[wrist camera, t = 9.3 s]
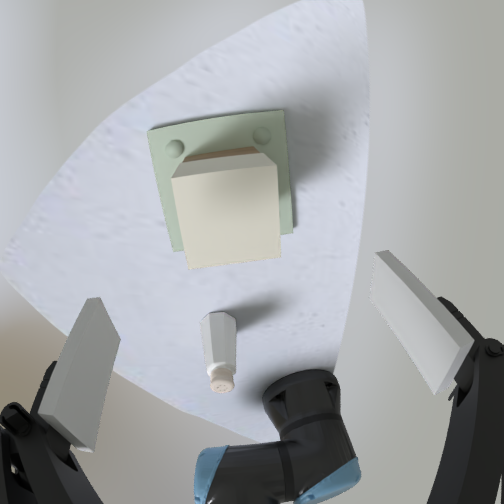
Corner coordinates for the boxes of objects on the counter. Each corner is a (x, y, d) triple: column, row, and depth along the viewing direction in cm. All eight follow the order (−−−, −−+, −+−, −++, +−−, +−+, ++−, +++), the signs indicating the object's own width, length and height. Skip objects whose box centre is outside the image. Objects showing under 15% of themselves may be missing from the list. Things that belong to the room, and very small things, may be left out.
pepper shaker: (243, 330, 41) (253, 391, 31) (211, 343, 42) (214, 404, 32) (226, 304, 38) (232, 368, 29) (191, 319, 39) (189, 382, 29)
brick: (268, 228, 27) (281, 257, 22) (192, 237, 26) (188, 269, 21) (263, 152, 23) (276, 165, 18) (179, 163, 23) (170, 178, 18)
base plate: (291, 229, 34) (293, 234, 33) (174, 248, 33) (173, 253, 32) (281, 110, 28) (284, 110, 26) (148, 130, 27) (145, 131, 26)
